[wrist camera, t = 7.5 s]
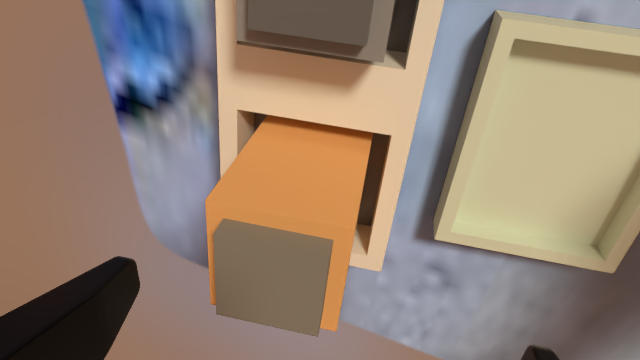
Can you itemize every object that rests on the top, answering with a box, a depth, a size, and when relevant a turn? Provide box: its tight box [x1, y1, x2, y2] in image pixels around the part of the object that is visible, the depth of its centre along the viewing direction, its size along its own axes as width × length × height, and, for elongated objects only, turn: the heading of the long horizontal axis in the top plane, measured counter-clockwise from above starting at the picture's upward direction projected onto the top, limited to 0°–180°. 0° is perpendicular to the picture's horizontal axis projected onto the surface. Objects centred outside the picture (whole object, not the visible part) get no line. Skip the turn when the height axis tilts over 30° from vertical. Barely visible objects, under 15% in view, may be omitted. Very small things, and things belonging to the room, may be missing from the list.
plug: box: [205, 115, 373, 336], centre depth 17 cm, size 4×4×8 cm
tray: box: [433, 10, 640, 274], centre depth 18 cm, size 8×10×2 cm
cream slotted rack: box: [215, 0, 444, 272], centre depth 16 cm, size 8×16×6 cm, turn 174°
